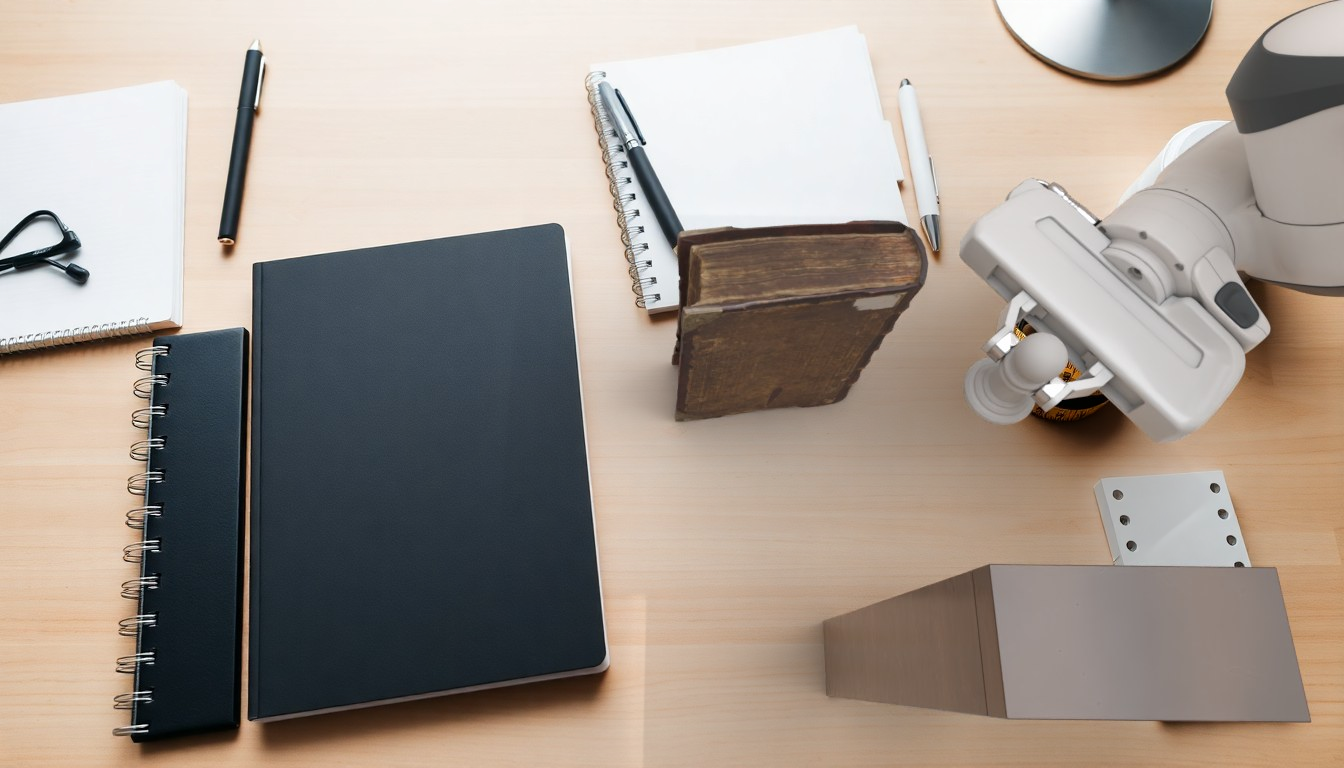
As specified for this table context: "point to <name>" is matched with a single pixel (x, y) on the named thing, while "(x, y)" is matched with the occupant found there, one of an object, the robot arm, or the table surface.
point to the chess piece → (1014, 379)
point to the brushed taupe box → (1077, 645)
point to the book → (787, 311)
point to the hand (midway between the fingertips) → (1016, 377)
